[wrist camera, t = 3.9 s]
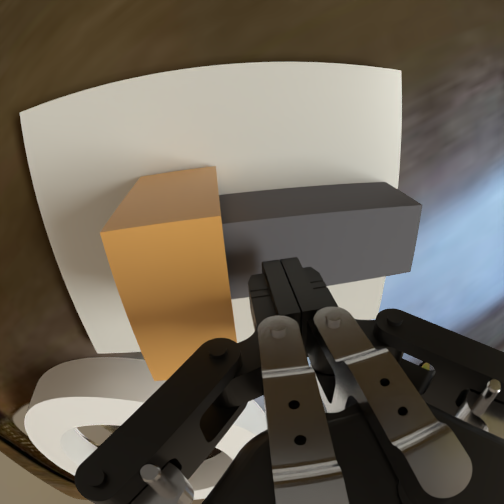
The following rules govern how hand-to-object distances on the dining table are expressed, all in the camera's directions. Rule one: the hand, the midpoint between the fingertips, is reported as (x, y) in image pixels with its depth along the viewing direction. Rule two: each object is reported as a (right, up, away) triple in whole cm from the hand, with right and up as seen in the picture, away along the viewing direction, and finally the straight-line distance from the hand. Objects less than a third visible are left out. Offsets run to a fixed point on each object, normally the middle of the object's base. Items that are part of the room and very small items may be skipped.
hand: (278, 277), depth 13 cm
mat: (-3, +3, +6) cm, 7 cm away
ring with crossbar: (-13, -20, +17) cm, 29 cm away
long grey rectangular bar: (0, +3, +5) cm, 5 cm away
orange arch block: (-5, +2, +4) cm, 7 cm away
